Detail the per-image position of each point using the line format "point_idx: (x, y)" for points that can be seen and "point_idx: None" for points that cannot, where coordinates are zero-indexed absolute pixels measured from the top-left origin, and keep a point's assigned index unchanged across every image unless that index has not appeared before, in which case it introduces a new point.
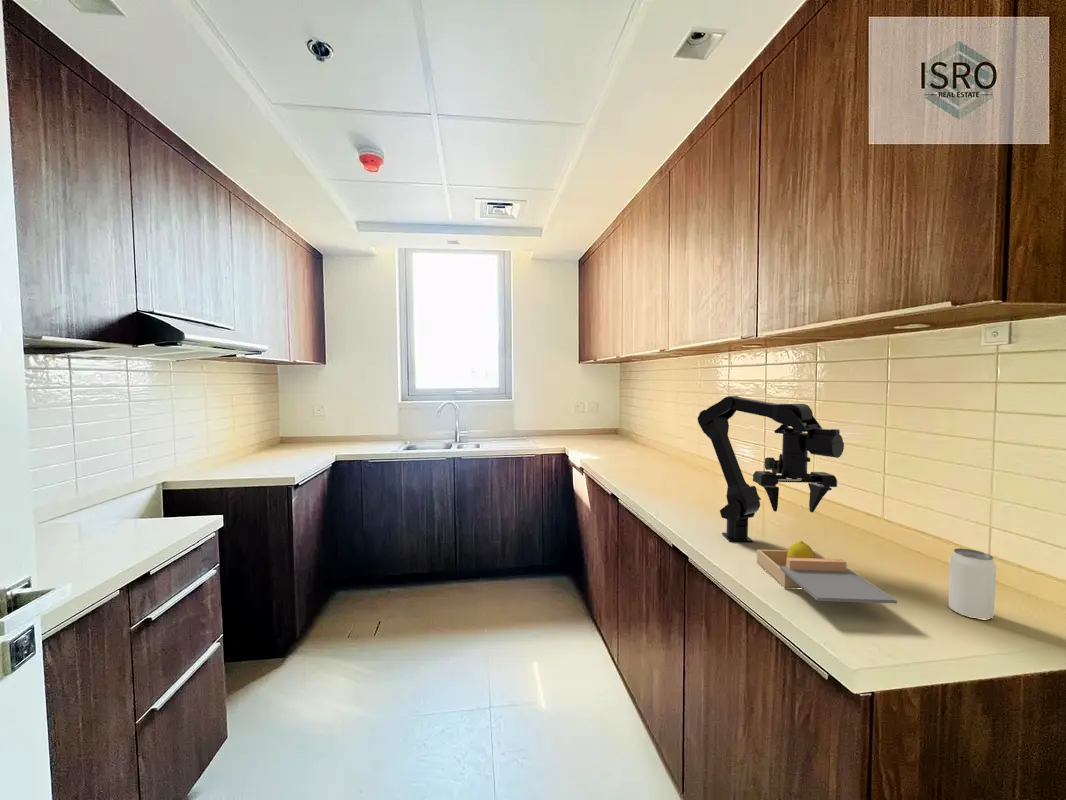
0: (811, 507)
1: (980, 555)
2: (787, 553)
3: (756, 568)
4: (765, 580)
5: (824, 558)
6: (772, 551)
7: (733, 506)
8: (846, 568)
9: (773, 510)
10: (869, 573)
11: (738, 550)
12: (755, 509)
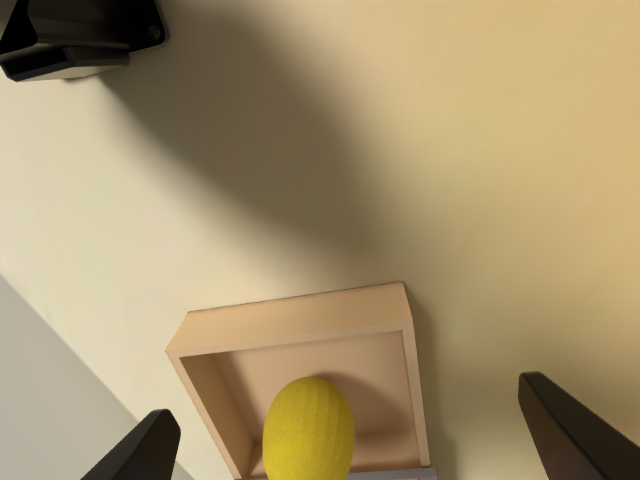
0: (543, 447)
1: None
2: (263, 432)
3: None
4: None
5: (415, 382)
6: (226, 348)
7: None
8: (432, 478)
9: (155, 414)
10: (582, 311)
11: (111, 192)
12: (5, 9)
